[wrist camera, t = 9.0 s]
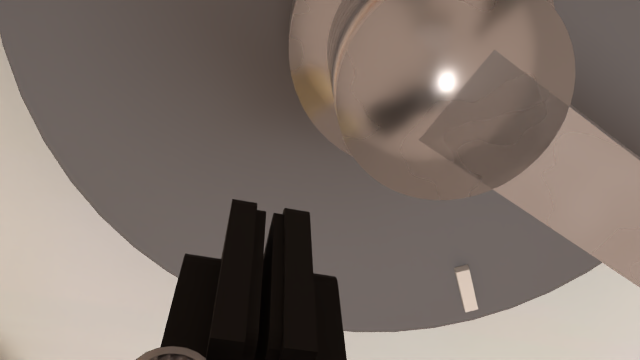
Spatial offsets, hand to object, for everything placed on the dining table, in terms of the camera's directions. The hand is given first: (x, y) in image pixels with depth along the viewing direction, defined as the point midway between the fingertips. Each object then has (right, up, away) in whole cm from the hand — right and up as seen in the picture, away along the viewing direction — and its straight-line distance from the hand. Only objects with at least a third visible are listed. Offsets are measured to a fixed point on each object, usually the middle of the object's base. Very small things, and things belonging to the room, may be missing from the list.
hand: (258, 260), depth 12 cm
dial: (+7, +4, +6) cm, 10 cm away
